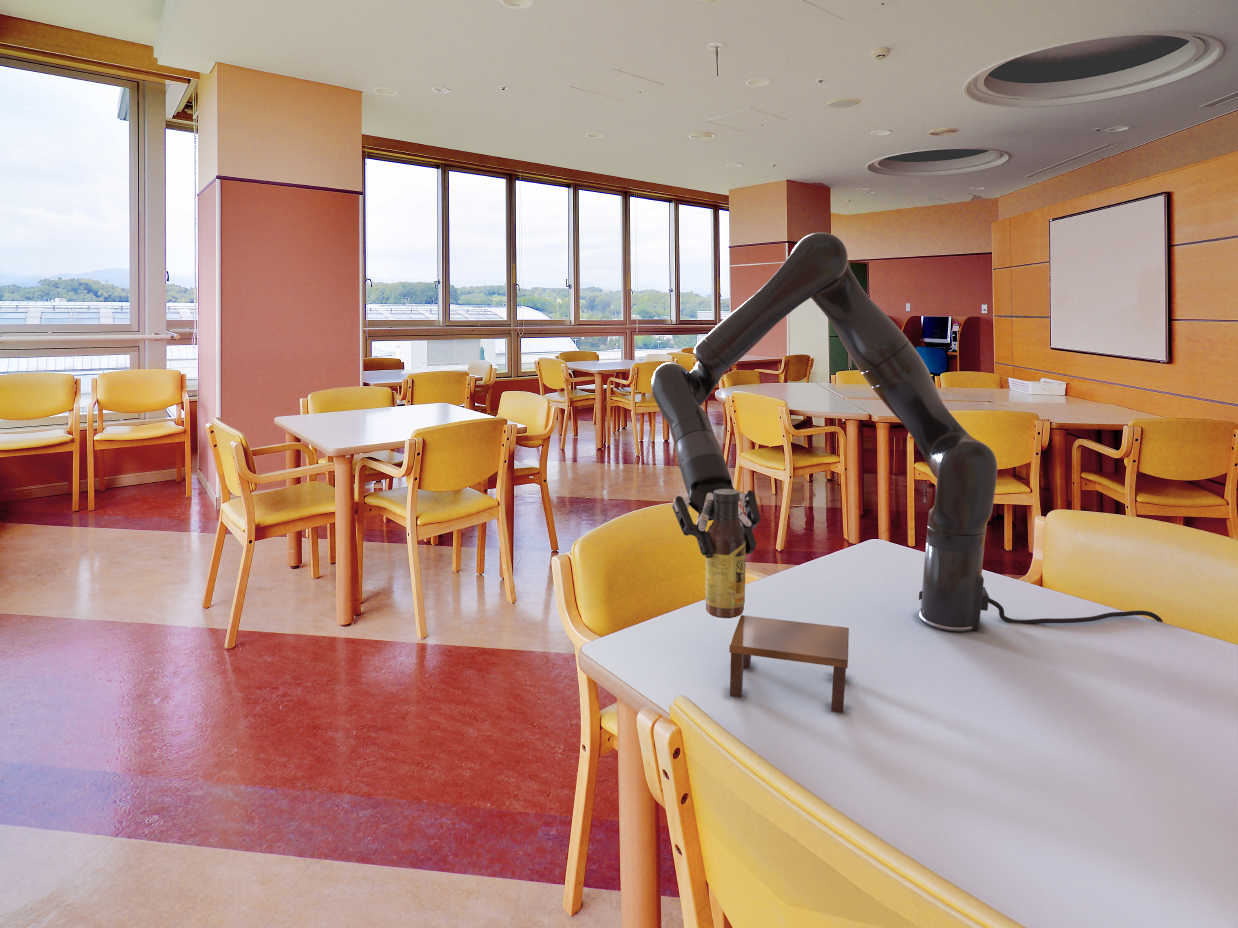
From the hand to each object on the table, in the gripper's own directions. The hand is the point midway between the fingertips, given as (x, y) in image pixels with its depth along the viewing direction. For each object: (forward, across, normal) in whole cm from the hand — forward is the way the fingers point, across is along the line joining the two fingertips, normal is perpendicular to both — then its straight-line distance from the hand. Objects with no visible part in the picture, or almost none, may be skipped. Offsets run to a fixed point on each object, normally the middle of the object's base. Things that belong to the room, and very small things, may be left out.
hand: (730, 553), depth 113 cm
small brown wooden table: (+20, +4, +4) cm, 21 cm away
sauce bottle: (+6, 0, +9) cm, 11 cm away
